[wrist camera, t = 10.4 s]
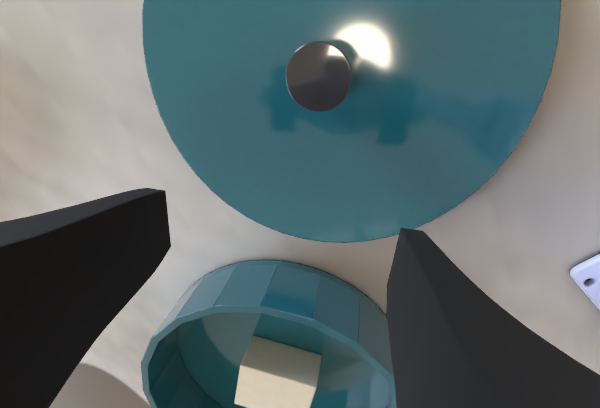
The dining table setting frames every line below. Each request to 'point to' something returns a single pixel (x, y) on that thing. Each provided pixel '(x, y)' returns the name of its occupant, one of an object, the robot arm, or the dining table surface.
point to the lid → (347, 103)
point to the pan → (269, 337)
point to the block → (276, 376)
